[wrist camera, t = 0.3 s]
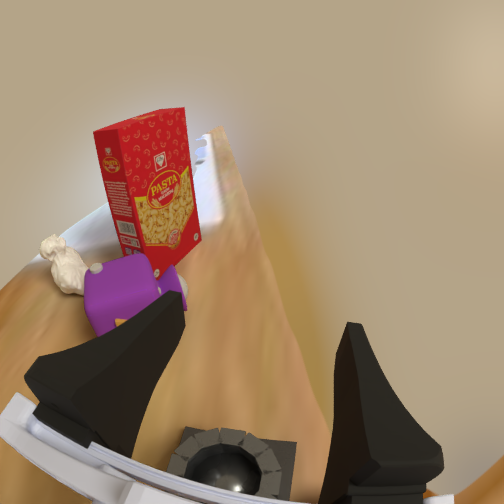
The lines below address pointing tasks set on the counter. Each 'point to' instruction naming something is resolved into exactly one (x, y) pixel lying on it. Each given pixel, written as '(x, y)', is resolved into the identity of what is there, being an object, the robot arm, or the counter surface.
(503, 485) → the counter surface
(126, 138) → the food packaging
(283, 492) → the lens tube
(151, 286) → the toy camera
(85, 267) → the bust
